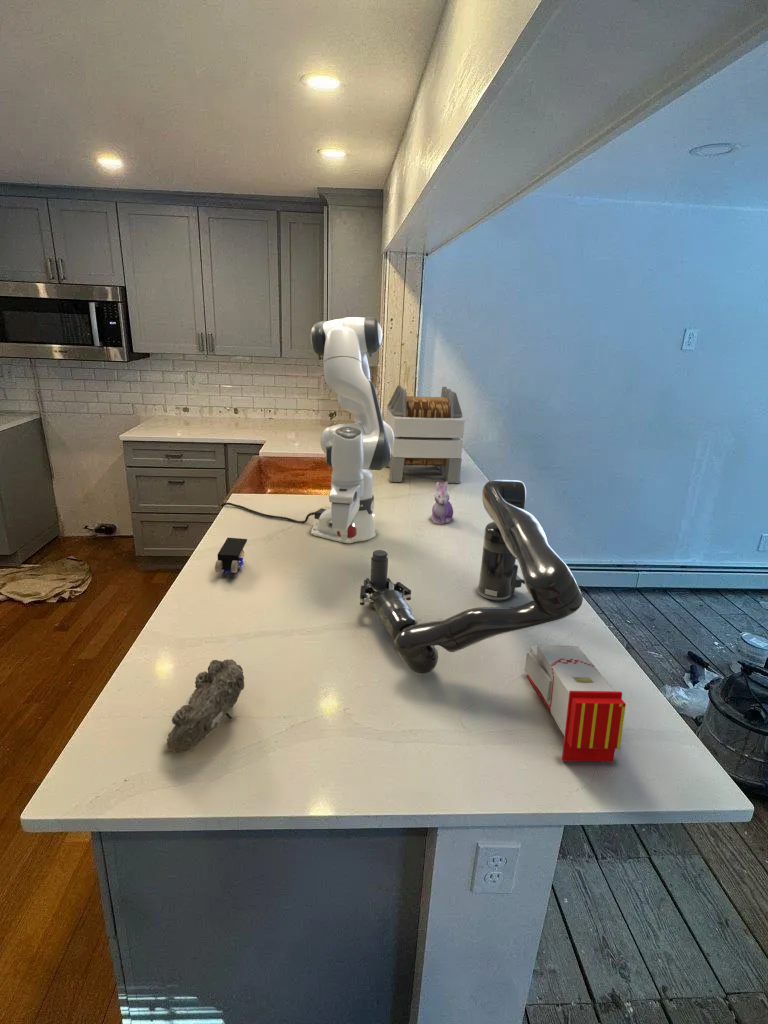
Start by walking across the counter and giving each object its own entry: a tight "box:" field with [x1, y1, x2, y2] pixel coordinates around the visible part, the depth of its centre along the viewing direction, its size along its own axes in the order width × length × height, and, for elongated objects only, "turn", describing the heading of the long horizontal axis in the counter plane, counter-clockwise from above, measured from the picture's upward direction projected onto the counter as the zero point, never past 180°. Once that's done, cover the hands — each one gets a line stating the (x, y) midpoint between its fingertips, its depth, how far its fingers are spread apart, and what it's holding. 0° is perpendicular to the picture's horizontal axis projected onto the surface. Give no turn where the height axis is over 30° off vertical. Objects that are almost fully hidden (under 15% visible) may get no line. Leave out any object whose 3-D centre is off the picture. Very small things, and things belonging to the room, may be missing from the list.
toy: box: [524, 644, 626, 762], centre depth 112 cm, size 12×13×30 cm
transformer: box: [385, 384, 465, 484], centre depth 268 cm, size 34×33×41 cm
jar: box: [368, 549, 389, 610], centre depth 149 cm, size 4×4×15 cm
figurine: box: [430, 480, 454, 525], centre depth 212 cm, size 9×10×15 cm
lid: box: [337, 525, 357, 538], centre depth 159 cm, size 6×6×2 cm
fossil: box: [166, 658, 245, 754], centre depth 106 cm, size 22×10×15 cm
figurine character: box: [214, 537, 248, 578], centre depth 166 cm, size 7×8×15 cm
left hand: (346, 535), depth 159 cm, fingers closed on lid, 5 cm apart
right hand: (375, 580), depth 152 cm, fingers closed on jar, 4 cm apart
